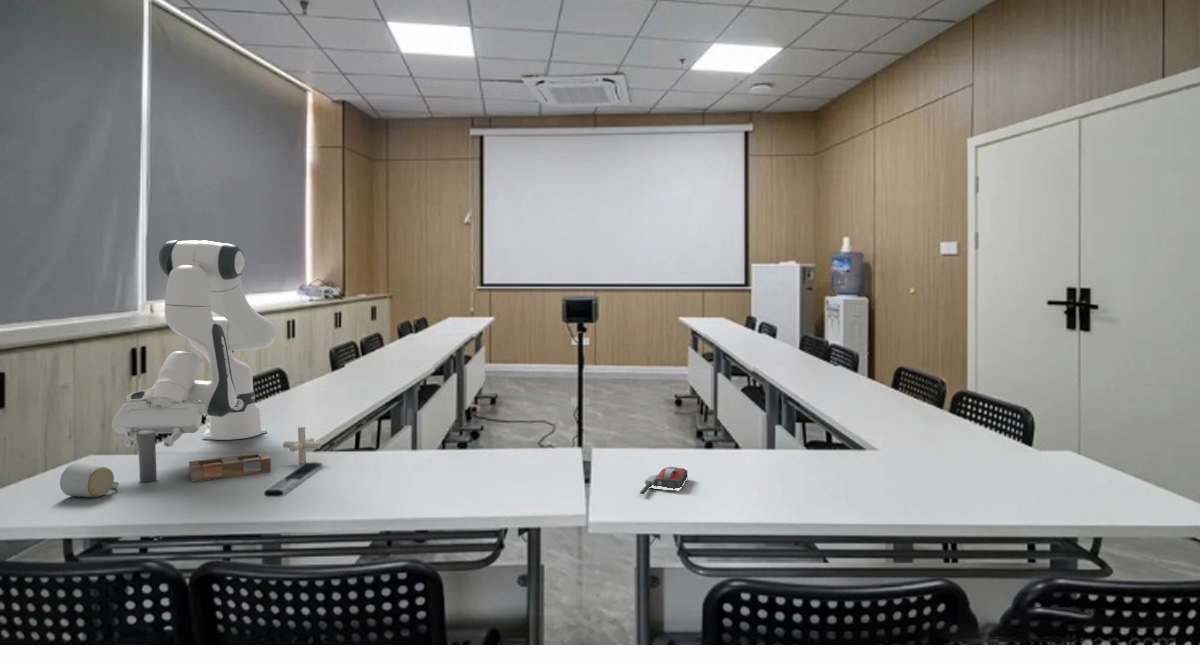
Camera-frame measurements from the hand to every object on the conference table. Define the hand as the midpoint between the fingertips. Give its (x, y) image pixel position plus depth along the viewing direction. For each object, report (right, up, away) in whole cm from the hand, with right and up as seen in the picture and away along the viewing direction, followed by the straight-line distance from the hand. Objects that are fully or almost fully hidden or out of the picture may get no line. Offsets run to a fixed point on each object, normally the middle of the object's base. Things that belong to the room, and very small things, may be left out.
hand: (147, 445), depth 177 cm
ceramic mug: (-6, -10, -11) cm, 16 cm away
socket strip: (+17, -8, +7) cm, 20 cm away
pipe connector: (+31, -8, +18) cm, 37 cm away
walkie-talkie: (+130, -10, -5) cm, 130 cm away
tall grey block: (0, -9, 0) cm, 9 cm away
